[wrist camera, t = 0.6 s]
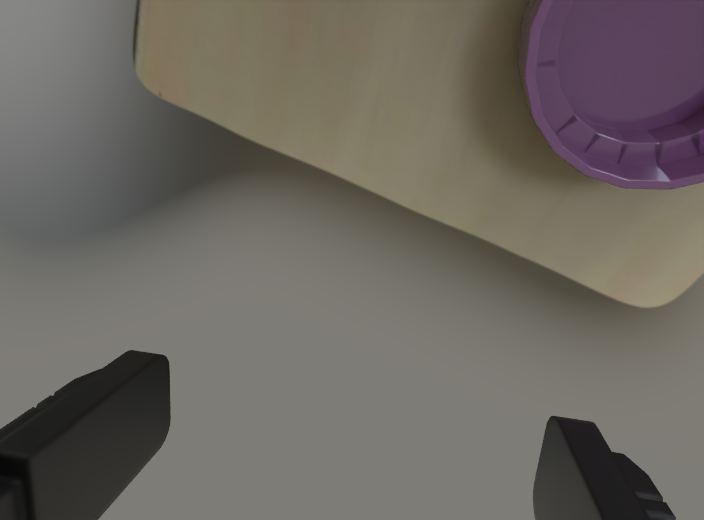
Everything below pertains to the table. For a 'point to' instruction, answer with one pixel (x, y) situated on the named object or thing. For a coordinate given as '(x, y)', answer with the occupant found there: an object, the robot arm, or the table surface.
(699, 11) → the bowl
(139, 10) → the table surface
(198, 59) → the table surface
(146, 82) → the table surface
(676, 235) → the table surface
